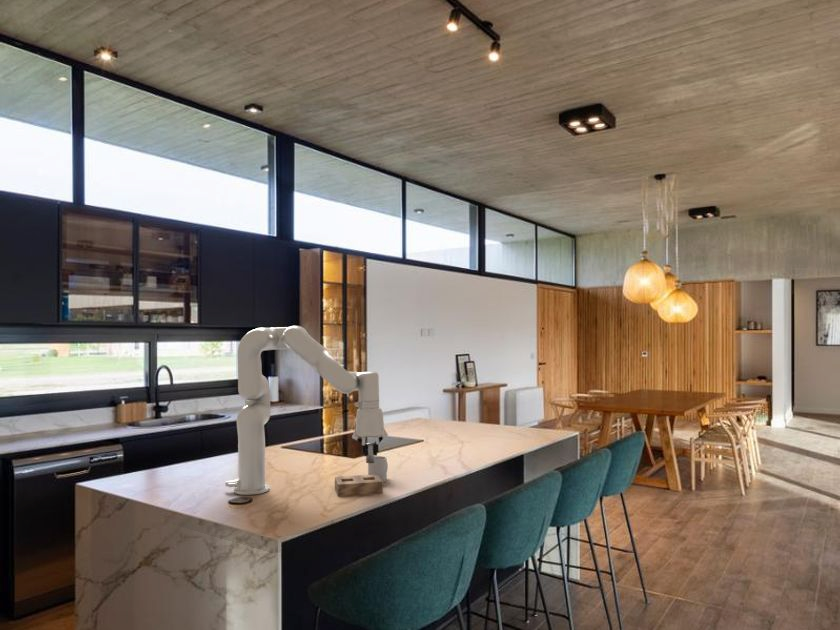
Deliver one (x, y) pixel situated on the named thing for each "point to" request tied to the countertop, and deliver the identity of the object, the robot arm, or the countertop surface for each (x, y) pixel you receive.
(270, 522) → the countertop surface
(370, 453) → the dowel
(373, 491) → the bore block
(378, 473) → the cup
